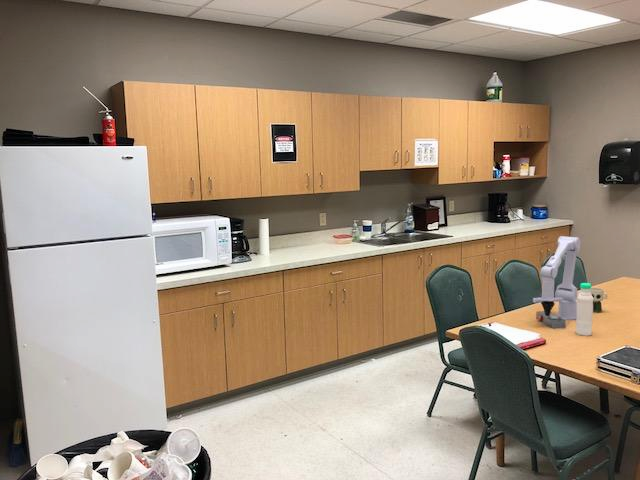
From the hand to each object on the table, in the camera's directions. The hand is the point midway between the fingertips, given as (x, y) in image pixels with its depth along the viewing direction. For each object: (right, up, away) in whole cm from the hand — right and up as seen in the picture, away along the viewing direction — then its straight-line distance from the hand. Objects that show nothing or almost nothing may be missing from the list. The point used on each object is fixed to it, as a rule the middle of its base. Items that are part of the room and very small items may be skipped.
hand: (547, 315), depth 265 cm
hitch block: (+4, -5, +5) cm, 8 cm away
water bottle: (+12, -7, -14) cm, 20 cm away
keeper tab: (+5, -1, 0) cm, 5 cm away
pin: (+5, -4, +9) cm, 11 cm away
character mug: (+38, -2, +24) cm, 45 cm away
